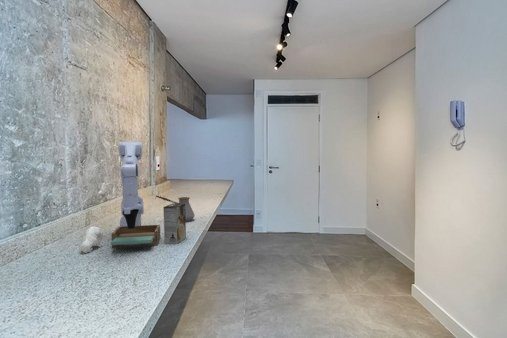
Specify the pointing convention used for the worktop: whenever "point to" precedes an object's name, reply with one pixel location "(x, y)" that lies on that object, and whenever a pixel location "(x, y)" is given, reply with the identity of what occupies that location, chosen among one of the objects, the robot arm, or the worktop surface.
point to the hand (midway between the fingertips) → (131, 228)
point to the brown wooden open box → (137, 234)
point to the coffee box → (174, 223)
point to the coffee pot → (188, 209)
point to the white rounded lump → (91, 239)
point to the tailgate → (132, 240)
